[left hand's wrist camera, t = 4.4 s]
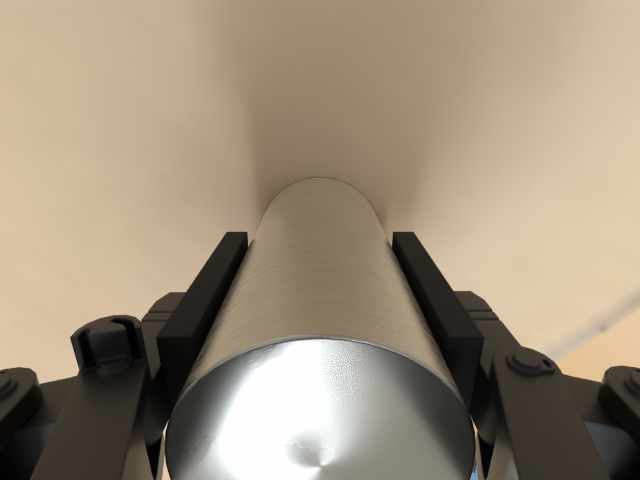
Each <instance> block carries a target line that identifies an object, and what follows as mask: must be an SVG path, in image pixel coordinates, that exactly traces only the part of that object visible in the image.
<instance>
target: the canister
mask: <svg viewBox="0 0 640 480" xmlns="http://www.w3.org/2000/svg"><path fill="white" fill-rule="evenodd" d="M475 453H476V442H475V431H474V427H473V423H472V419H471V416H470V414H469V412H468V410H467V407H466V405H465V403H464V401H463V399H462V397H461V394H460V392H459V390H458V388H457V386H456V384H455V382H454V379H453V377H452V375H451V373H450V371H449V369H448V367H447V365H446V362H445V360H444V358H443V356H442V354H441V352H440V350H439V347H438V345H437V343H436V341H435V339H434V337H433V335H432V333H431V330H430V328H429V326H428V324H427V322H426V320H425V318H424V315H423V313H422V311H421V309H420V307H419V305H418V303H417V301H416V298H415V296H414V294H413V292H412V290H411V288H410V286H409V283H408V281H407V279H406V277H405V275H404V273H403V271H402V269H401V266H400V264H399V262H398V260H397V258H396V256H395V254H394V251H393V249H392V247H391V245H390V243H389V241H388V239H387V237H386V234H385V232H384V230H383V228H382V226H381V224H380V222H379V219H378V217H377V215H376V213H375V211H374V209H373V207H372V205H371V204H370V202H369V201H368V200H367V199H366V197H365V196H364V195H363V194H362V193H360V192H359V191H358V190H357V189H355V188H354V187H352V186H351V185H349V184H347V183H345V182H342V181H339V180H336V179H331V178H310V179H305V180H301V181H298V182H296V183H294V184H292V185H290V186H288V187H286V188H285V189H283V190H282V191H281V192H280V193H279V194H277V195H276V196H275V198H274V199H273V200H272V201H271V203H270V204H269V206H268V207H267V209H266V211H265V213H264V216H263V218H262V220H261V222H260V224H259V226H258V228H257V231H256V233H255V235H254V237H253V239H252V241H251V243H250V246H249V248H248V250H247V252H246V254H245V256H244V258H243V261H242V263H241V265H240V267H239V269H238V271H237V273H236V276H235V278H234V280H233V282H232V284H231V286H230V288H229V291H228V293H227V295H226V297H225V299H224V301H223V303H222V306H221V308H220V310H219V312H218V314H217V316H216V318H215V321H214V323H213V325H212V327H211V329H210V331H209V333H208V336H207V338H206V340H205V342H204V344H203V346H202V348H201V351H200V353H199V355H198V357H197V359H196V361H195V363H194V366H193V368H192V370H191V372H190V374H189V376H188V378H187V380H186V383H185V385H184V387H183V389H182V391H181V393H180V395H179V398H178V400H177V402H176V404H175V406H174V408H173V411H172V413H171V415H170V417H169V421H168V425H167V429H166V434H165V458H166V465H167V469H168V472H169V476H170V479H171V480H470V477H471V474H472V470H473V467H474V461H475Z"/></svg>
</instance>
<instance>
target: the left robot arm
mask: <svg viewBox="0 0 640 480" xmlns="http://www.w3.org/2000/svg"><path fill="white" fill-rule="evenodd" d="M392 249H393V251H394V254H395V256H396V258H397V260H398V262H399V264H400V266H401V269H402V271H403V273H404V275H405V277H406V279H407V281H408V283H409V286H410V288H411V290H412V292H413V294H414V296H415V298H416V301H417V303H418V305H419V307H420V309H421V311H422V313H423V315H424V318H425V320H426V322H427V324H428V326H429V328H430V330H431V333H432V335H433V337H434V339H435V341H436V343H437V345H438V347H439V350H440V352H441V354H442V356H443V358H444V360H445V362H446V365H447V367H448V369H449V371H450V373H451V375H452V377H453V379H454V382H455V384H456V386H457V388H458V390H459V392H460V394H461V397H462V399H463V401H464V403H465V405H466V407H467V410H468V412H469V414H470V415H471V417H472V419H473V421H474V424H475V426H476V428H477V430H478V431H477V436H476V441H475V442H476V453H475V461H474V467H473V470H472V472H474V473H475V470H476V465H477V473H478V480H640V368H636V367H628V366H615V367H610V368H609V369H608V370H606V371H605V374H604V376H603V379H602V382H596V381H592V380H587V379H582V378H577V377H572V376H568V375H564V374H562V372H561V370H560V369H559V368H558V366H557V365H556V364H555V362H554V361H552V360H551V359H550V358H548V357H547V356H546V355H544V354H542V353H540V352H537V351H535V350H533V349H530V348H526V347H522V346H521V345H520V344H519V343H518V342H517V340H516V339H515V338H514V337H513V335H512V334H511V333H510V331H509V330H508V329H507V328H506V326H505V325H504V324H503V323H502V321H499V318H498V316H497V315H496V314H495V313H494V312H492V309H491V308H490V306H489V305H488V304H487V303H486V301H485V300H484V299H482V298H480V297H479V296H477V295H476V294H474V293H473V292H471V291H453V290H452V288H451V287H450V285H449V284H448V282H447V281H446V279H445V278H444V276H443V275H442V273H441V272H440V271H439V269H438V268H437V266H436V265H435V263H434V262H433V260H432V259H431V257H430V256H429V254H428V253H427V251H426V250H425V248H424V247H423V245H422V244H421V242H420V241H419V240H418V238H417V237H416V235H415V234H414V232H393V240H392ZM247 250H248V236H247V232H227V233H226V234H225V236H224V237H223V238H222V240H221V241H220V243H219V244H218V246H217V247H216V249H215V250H214V252H213V253H212V255H211V256H210V258H209V259H208V261H207V262H206V264H205V265H204V267H203V268H202V269H201V271H200V272H199V274H198V275H197V277H196V278H195V280H194V281H193V283H192V284H191V286H190V287H189V289H188V290H187V292H170V293H168V294H167V295H165V296H164V297H162V298H160V299H159V300H157V301H156V302H155V303H154V305H153V306H152V307H151V308H150V310H149V311H148V313H146V315H145V316H144V317H143V318H142V321H141V322H140V320H138V319H137V318H136V317H133V316H128V315H113V316H108V317H104V318H100V319H97V320H95V321H92V322H90V323H87V324H86V325H84V326H83V327H81V328H79V329H78V330H76V332H75V333H74V334H73V335H72V336H71V337H70V339H71V342H72V346H73V349H74V353H75V356H76V360H77V363H78V367H79V370H80V371H79V373H78V375H77V376H74V377H71V378H66V379H61V380H57V381H52V382H47V383H42V384H39V381H38V378H37V375H36V373H35V372H34V371H32V370H31V369H30V368H21V367H17V368H10V369H4V370H0V480H162V474H163V465H164V456H165V442H164V436H163V430H164V428H165V426H166V424H167V422H168V420H169V417H170V415H171V413H172V411H173V408H174V406H175V404H176V402H177V400H178V398H179V395H180V393H181V391H182V389H183V387H184V385H185V383H186V380H187V378H188V376H189V374H190V372H191V370H192V368H193V366H194V363H195V361H196V359H197V357H198V355H199V353H200V351H201V348H202V346H203V344H204V342H205V340H206V338H207V336H208V333H209V331H210V329H211V327H212V325H213V323H214V321H215V318H216V316H217V314H218V312H219V310H220V308H221V306H222V303H223V301H224V299H225V297H226V295H227V293H228V291H229V288H230V286H231V284H232V282H233V280H234V278H235V276H236V273H237V271H238V269H239V267H240V265H241V263H242V261H243V258H244V256H245V254H246V252H247Z"/></svg>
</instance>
